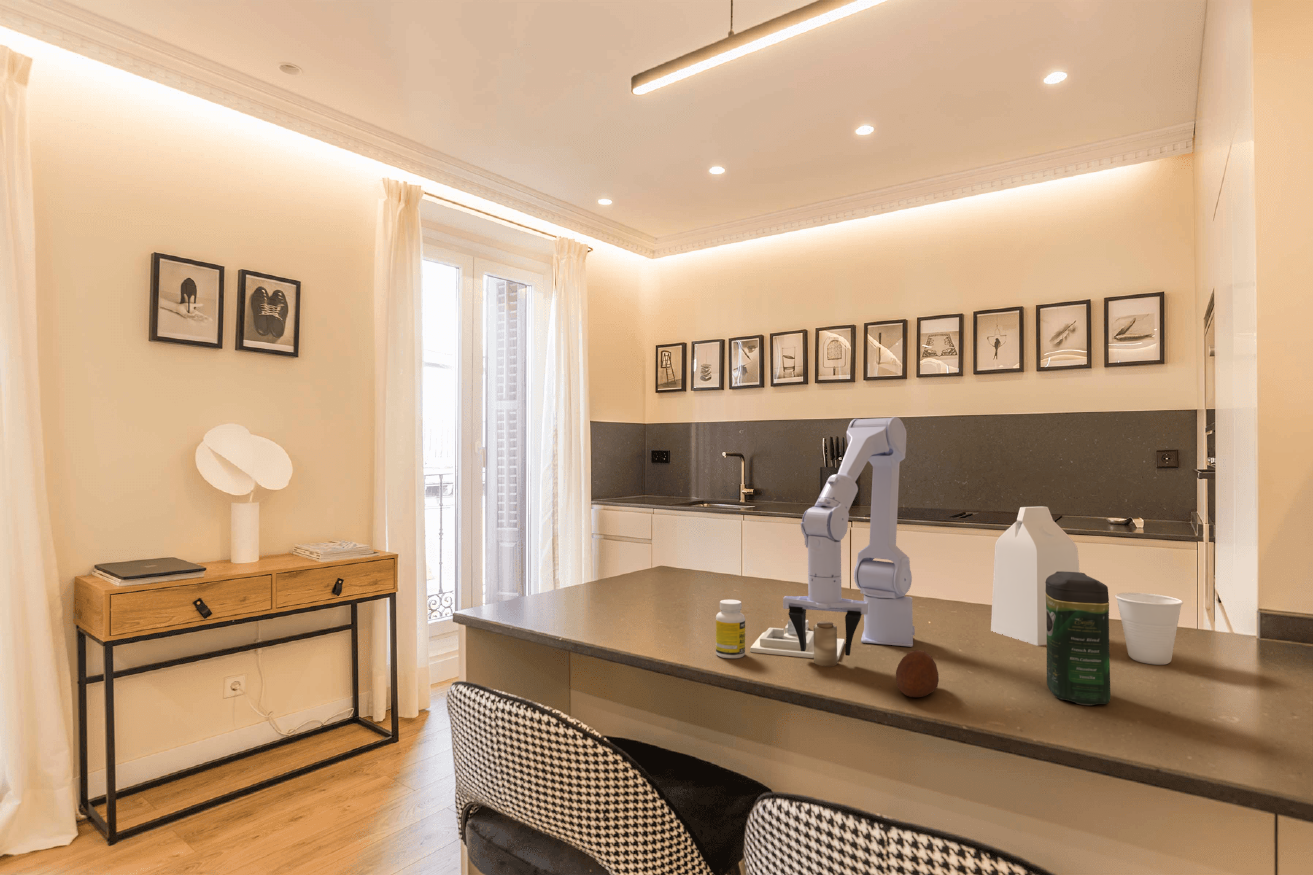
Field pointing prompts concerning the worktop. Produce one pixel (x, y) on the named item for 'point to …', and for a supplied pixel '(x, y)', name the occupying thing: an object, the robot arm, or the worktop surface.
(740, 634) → the supplement bottle
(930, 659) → the potato
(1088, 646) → the coffee jar
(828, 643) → the beige lidded canister
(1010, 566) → the milk
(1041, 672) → the worktop surface
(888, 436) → the robot arm
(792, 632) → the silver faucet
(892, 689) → the worktop surface
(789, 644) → the dock
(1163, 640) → the cup
